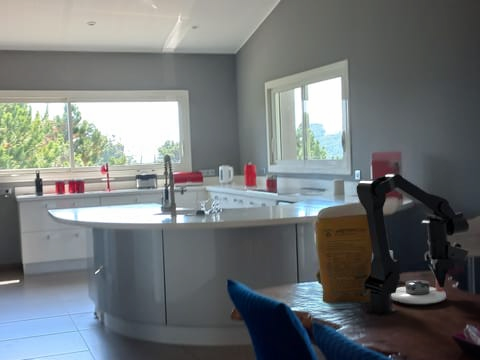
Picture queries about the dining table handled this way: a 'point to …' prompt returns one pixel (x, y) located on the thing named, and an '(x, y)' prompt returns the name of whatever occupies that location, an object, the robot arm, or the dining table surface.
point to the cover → (417, 287)
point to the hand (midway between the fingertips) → (441, 287)
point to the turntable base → (418, 304)
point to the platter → (420, 296)
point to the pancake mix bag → (344, 257)
